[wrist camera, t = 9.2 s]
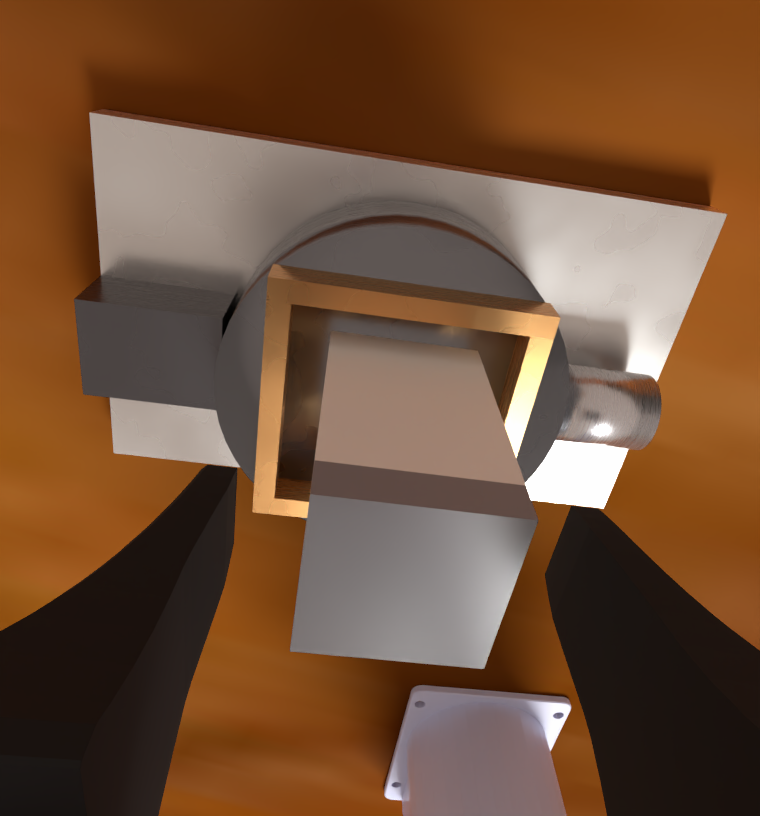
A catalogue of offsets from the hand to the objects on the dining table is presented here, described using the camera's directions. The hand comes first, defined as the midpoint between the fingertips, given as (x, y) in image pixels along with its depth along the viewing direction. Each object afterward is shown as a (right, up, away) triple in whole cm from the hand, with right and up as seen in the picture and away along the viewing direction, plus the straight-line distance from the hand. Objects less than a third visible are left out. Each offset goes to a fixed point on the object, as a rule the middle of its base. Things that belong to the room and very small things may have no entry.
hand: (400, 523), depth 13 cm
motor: (0, +5, +8) cm, 9 cm away
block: (0, +3, +4) cm, 5 cm away
